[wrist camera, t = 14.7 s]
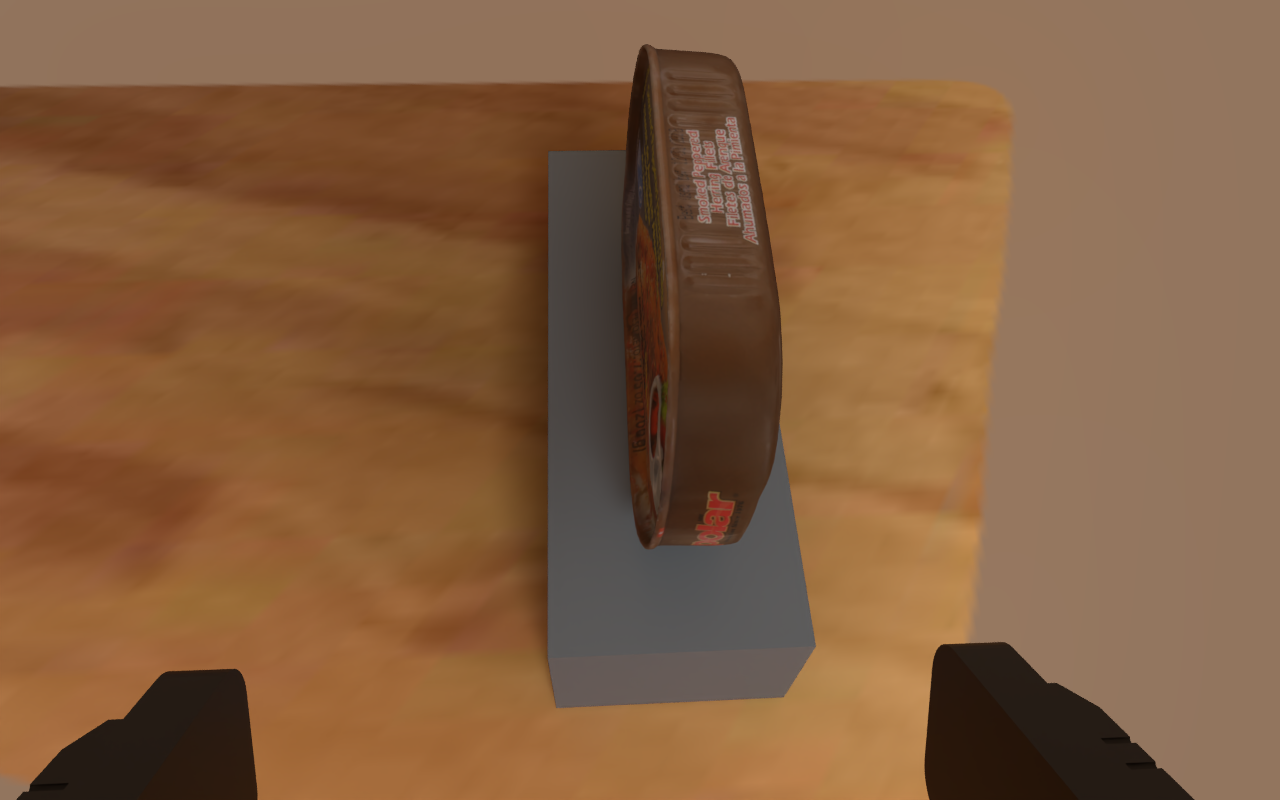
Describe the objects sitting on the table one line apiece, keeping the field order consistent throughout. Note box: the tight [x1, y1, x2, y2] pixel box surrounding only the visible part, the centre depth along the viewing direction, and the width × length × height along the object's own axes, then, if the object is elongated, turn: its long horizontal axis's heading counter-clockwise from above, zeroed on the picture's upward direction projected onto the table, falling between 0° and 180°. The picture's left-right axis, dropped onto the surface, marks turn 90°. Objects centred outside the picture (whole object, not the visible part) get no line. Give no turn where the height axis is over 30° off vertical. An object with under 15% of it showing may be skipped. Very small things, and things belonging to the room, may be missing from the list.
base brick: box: [548, 150, 816, 708], centre depth 31 cm, size 7×19×5 cm, turn 3°
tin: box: [621, 44, 782, 550], centre depth 25 cm, size 15×3×8 cm, turn 2°
